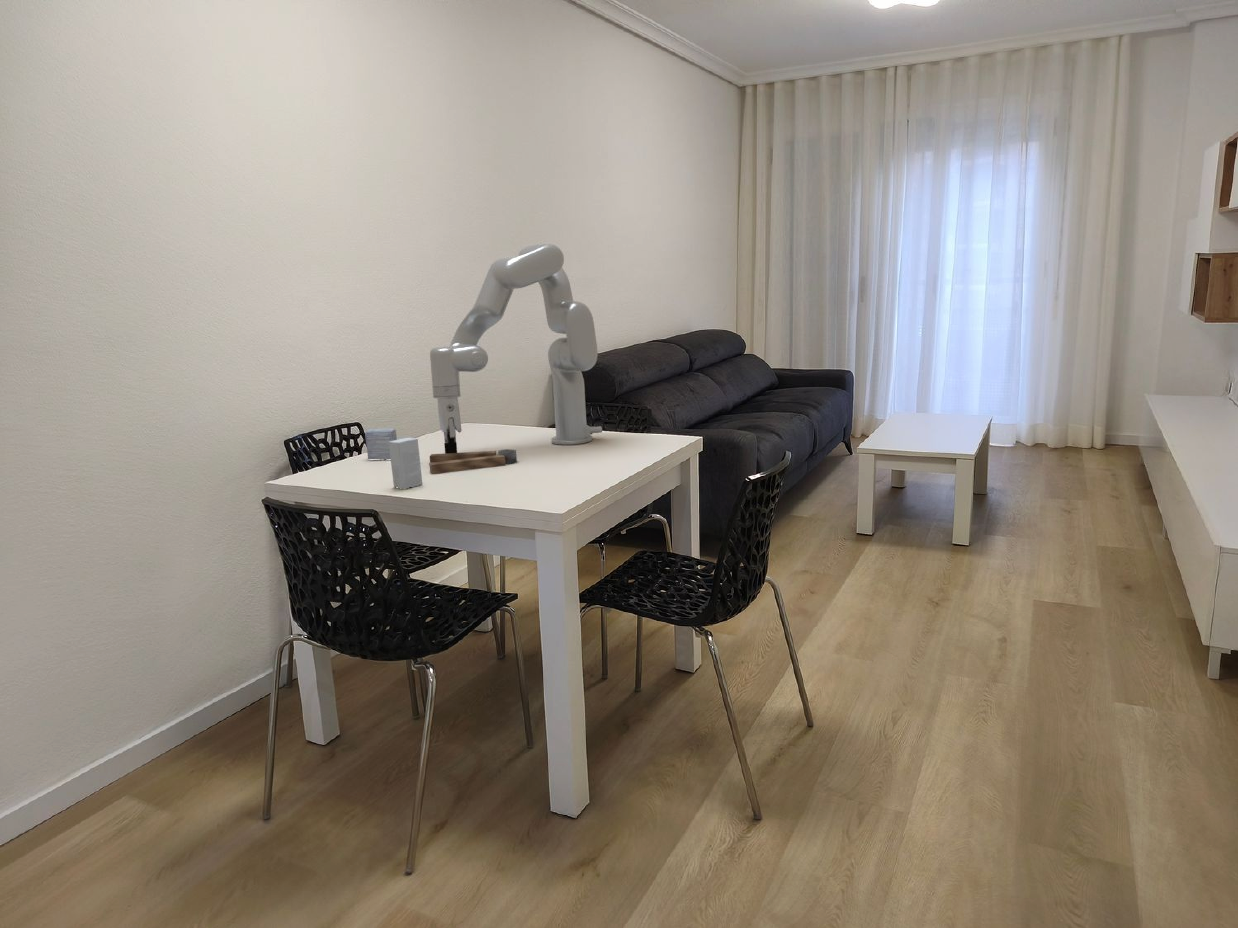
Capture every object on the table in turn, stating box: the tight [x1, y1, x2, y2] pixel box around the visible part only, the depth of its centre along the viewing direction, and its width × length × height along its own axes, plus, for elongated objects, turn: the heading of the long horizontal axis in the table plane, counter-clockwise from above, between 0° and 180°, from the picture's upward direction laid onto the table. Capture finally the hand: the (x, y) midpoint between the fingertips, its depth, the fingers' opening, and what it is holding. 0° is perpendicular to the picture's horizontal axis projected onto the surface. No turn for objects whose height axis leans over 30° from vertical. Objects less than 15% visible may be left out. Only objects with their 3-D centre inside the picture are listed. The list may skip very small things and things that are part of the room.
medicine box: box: [364, 428, 398, 460], centre depth 258 cm, size 8×4×9 cm, turn 84°
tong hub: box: [428, 449, 518, 475], centre depth 241 cm, size 24×6×3 cm, turn 111°
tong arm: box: [429, 450, 497, 463], centre depth 246 cm, size 18×3×2 cm, turn 92°
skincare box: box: [389, 437, 423, 490], centre depth 220 cm, size 6×4×12 cm
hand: (451, 456), depth 249 cm, fingers closed
